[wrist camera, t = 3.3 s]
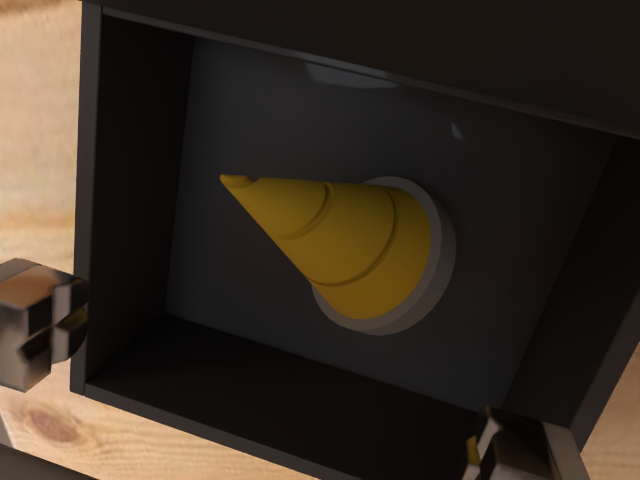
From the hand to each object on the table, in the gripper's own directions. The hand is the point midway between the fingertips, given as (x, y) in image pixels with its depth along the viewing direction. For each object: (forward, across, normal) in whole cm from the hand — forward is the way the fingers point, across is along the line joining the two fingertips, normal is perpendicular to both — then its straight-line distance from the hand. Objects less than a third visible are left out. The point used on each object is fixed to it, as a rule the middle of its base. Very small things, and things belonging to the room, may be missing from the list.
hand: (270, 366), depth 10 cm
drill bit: (+10, 0, 0) cm, 10 cm away
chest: (+11, 0, 0) cm, 11 cm away
